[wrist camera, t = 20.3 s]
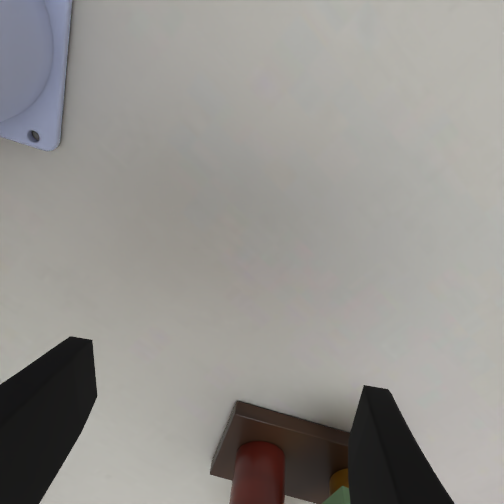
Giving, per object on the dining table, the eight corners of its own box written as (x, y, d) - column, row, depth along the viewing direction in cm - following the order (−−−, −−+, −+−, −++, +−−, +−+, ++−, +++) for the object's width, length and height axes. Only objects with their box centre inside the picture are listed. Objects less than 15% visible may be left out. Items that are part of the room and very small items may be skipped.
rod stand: (211, 460, 30) (193, 559, 25) (236, 400, 27) (221, 497, 22) (369, 504, 31) (383, 608, 26) (411, 450, 28) (435, 555, 23)
